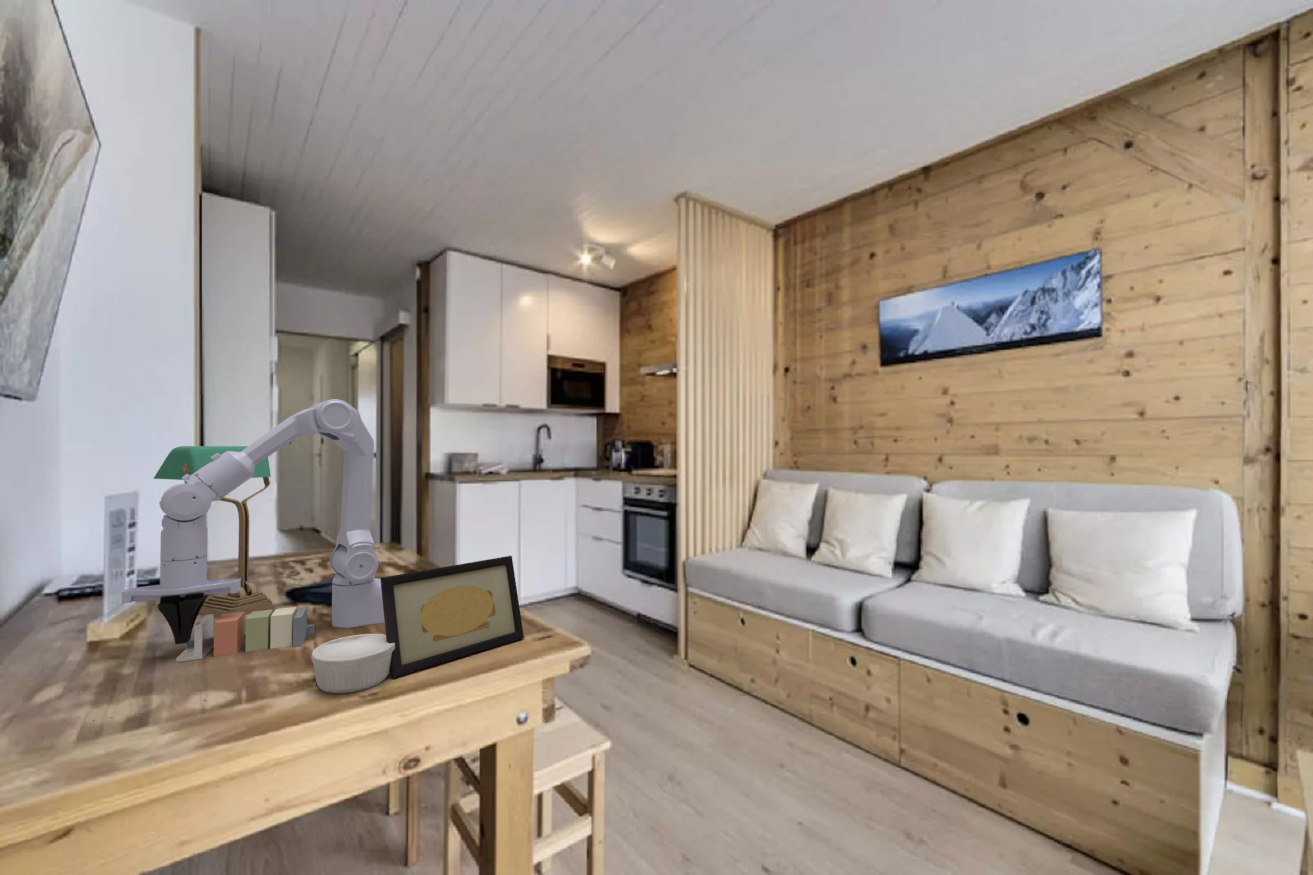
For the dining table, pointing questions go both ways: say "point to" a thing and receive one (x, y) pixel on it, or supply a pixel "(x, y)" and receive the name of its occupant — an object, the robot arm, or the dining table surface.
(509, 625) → the picture frame
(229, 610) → the banker's lamp
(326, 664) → the ramekin
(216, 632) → the rust book
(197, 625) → the bookend
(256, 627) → the olive block
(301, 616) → the shelf
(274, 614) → the cream book
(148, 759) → the dining table surface
